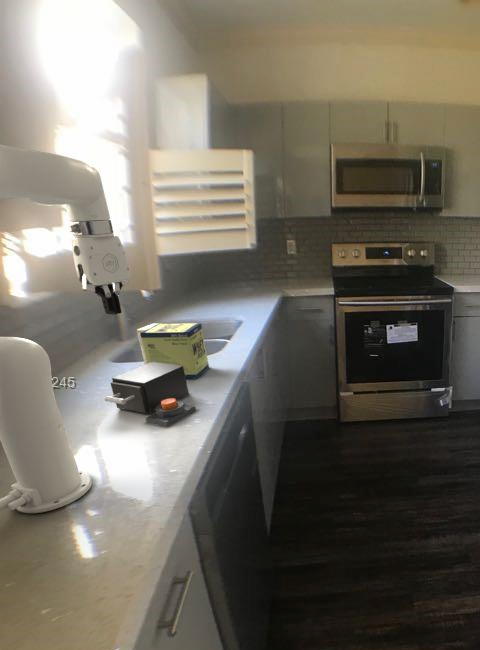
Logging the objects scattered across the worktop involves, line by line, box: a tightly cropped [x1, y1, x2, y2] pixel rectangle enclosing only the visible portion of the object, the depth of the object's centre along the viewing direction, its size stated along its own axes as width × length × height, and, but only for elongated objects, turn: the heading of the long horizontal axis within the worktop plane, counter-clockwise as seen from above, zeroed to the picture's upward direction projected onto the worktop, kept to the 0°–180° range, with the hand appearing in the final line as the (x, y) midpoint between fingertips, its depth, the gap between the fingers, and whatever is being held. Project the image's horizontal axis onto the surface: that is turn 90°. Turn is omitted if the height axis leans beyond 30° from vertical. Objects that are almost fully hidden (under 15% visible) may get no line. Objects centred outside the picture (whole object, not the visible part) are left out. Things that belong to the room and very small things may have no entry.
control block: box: [145, 400, 197, 428], centre depth 119 cm, size 10×7×3 cm
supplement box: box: [136, 323, 157, 365], centre depth 158 cm, size 8×5×13 cm, turn 168°
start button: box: [161, 398, 177, 409], centre depth 119 cm, size 4×4×2 cm
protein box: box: [140, 322, 210, 380], centre depth 147 cm, size 10×16×16 cm
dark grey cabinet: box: [111, 362, 190, 415], centre depth 128 cm, size 14×12×9 cm
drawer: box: [104, 381, 149, 414], centre depth 124 cm, size 17×10×7 cm, turn 159°
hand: (113, 313), depth 105 cm, fingers closed
